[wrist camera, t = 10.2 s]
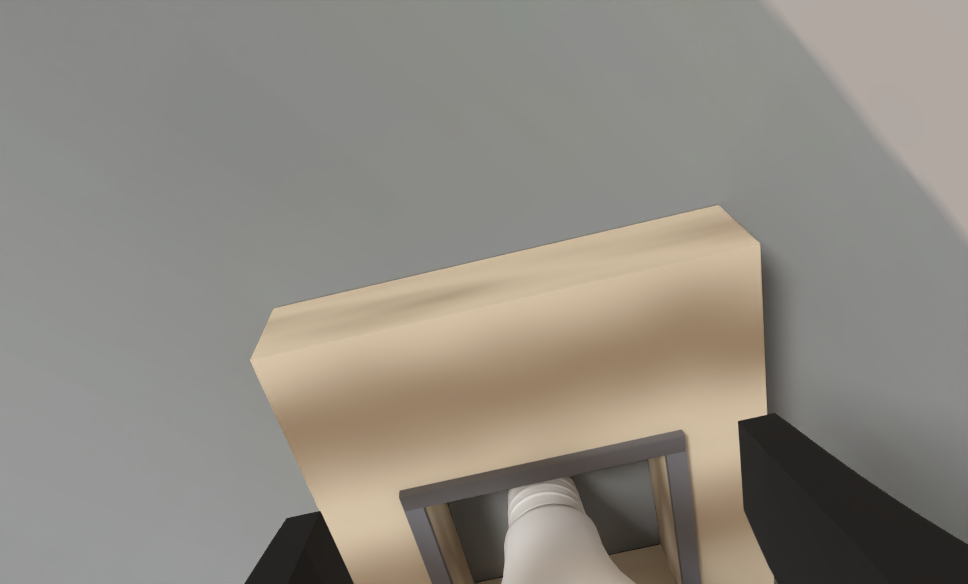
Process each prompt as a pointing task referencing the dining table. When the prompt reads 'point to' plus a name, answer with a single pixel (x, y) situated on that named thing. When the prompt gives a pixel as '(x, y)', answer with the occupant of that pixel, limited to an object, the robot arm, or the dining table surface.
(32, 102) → the dining table surface
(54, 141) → the dining table surface
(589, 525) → the lightbulb
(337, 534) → the socket plate
